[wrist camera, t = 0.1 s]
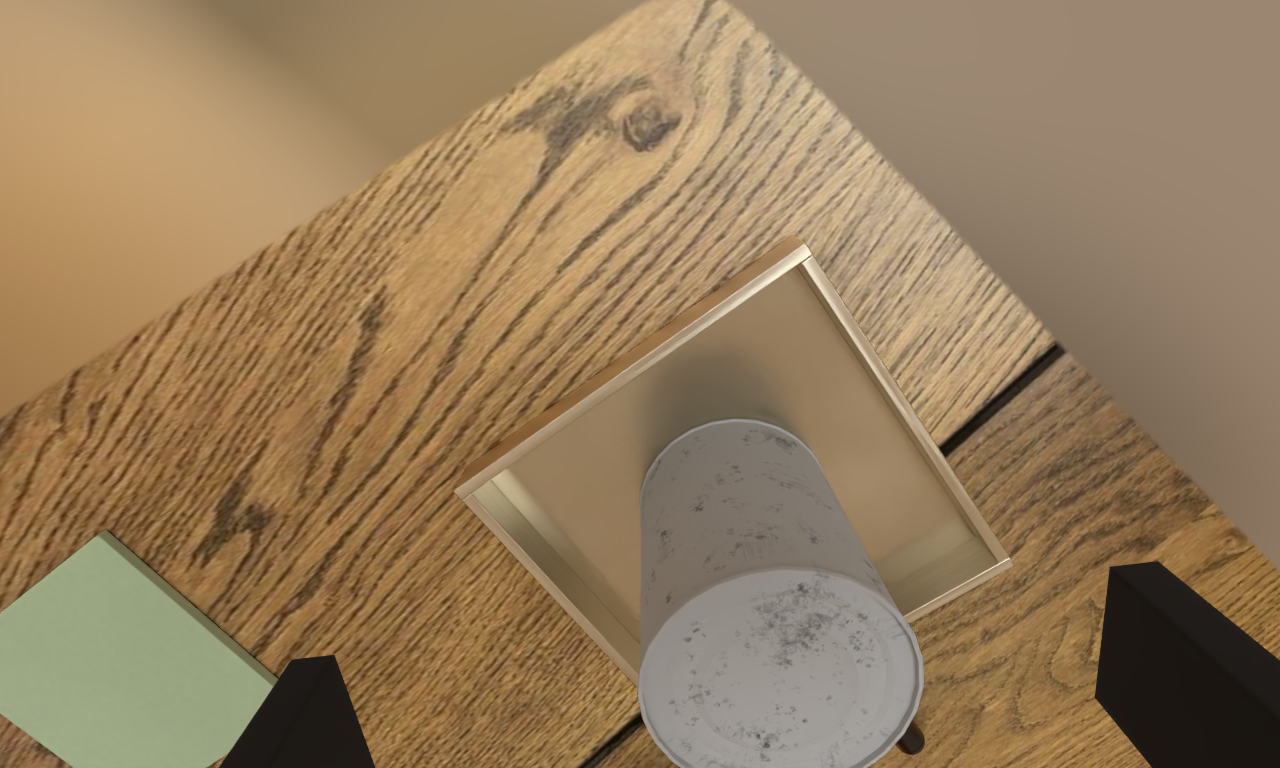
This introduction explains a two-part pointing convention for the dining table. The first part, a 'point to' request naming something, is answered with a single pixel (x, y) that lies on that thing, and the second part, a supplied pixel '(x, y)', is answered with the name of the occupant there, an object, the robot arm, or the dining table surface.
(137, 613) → the mat
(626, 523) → the tray
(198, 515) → the dining table surface
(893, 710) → the grey speckled cylinder
